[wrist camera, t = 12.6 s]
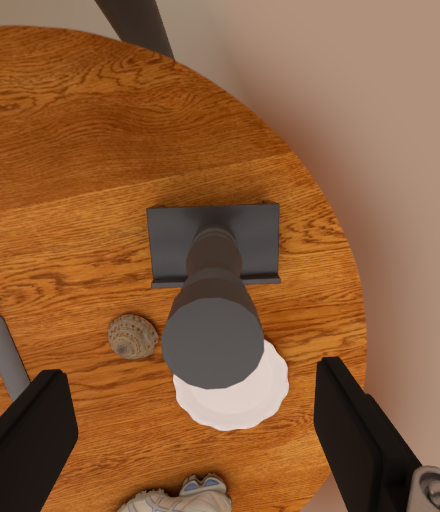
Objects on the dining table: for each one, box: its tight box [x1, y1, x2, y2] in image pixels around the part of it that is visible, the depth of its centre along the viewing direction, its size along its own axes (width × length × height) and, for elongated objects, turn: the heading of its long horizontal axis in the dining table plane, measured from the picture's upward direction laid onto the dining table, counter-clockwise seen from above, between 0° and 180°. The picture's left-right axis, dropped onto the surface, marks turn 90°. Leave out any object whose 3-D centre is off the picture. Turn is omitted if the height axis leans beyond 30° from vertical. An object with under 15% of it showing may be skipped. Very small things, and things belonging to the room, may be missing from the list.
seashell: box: [108, 315, 158, 359], centre depth 49 cm, size 8×6×8 cm
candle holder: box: [161, 224, 264, 390], centre depth 28 cm, size 6×6×25 cm
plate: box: [173, 339, 289, 431], centre depth 52 cm, size 21×21×2 cm
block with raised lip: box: [146, 200, 280, 288], centre depth 42 cm, size 11×18×8 cm, turn 92°
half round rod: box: [0, 317, 30, 402], centre depth 51 cm, size 4×20×2 cm, turn 11°
